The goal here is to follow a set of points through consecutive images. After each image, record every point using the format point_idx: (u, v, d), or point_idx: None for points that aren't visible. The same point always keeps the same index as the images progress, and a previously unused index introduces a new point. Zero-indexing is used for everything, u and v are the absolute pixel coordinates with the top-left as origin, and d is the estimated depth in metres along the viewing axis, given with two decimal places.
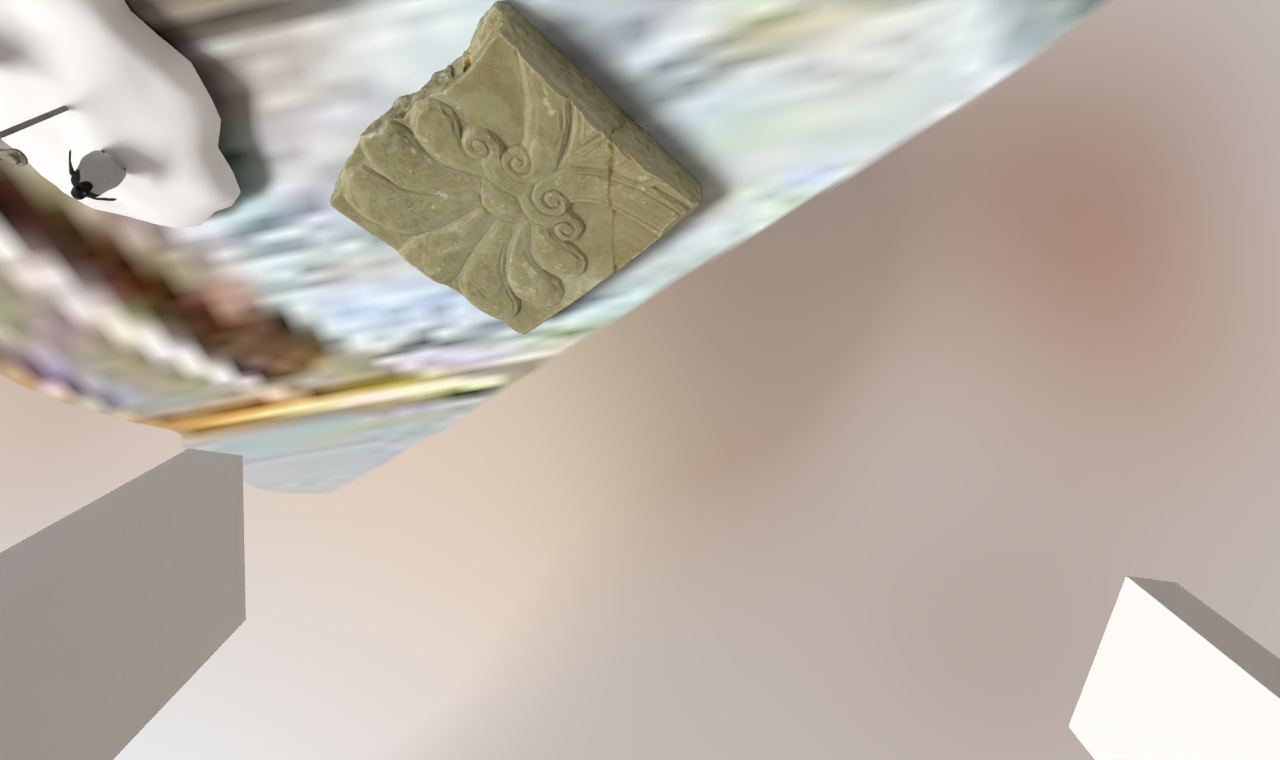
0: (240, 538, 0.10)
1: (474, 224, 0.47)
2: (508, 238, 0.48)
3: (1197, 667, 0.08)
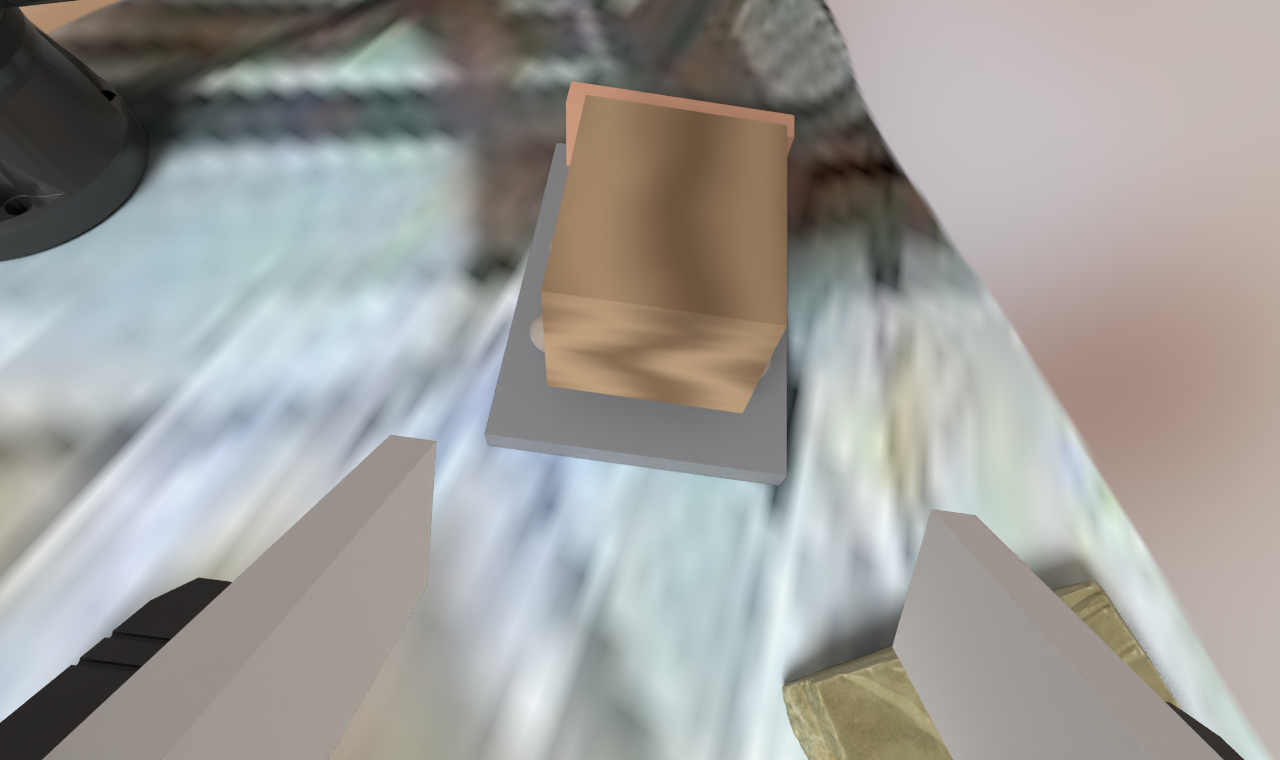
0: (429, 514, 0.11)
1: None
2: None
3: (966, 578, 0.10)
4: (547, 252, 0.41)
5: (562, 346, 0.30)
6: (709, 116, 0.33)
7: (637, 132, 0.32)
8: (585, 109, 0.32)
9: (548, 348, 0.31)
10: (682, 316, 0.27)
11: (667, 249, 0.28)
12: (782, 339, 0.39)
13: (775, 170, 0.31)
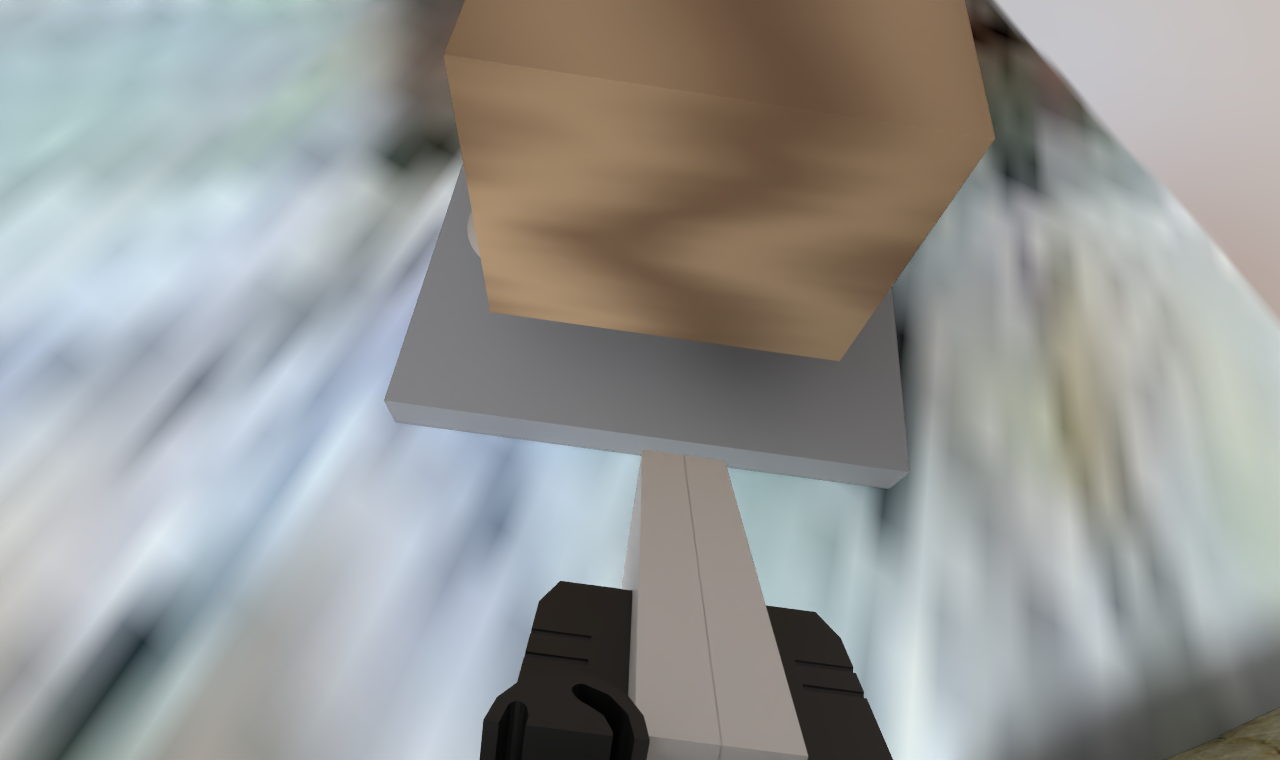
0: None
1: None
2: None
3: None
4: None
5: (508, 217, 0.15)
6: None
7: None
8: None
9: (481, 224, 0.16)
10: (760, 119, 0.12)
11: None
12: None
13: None
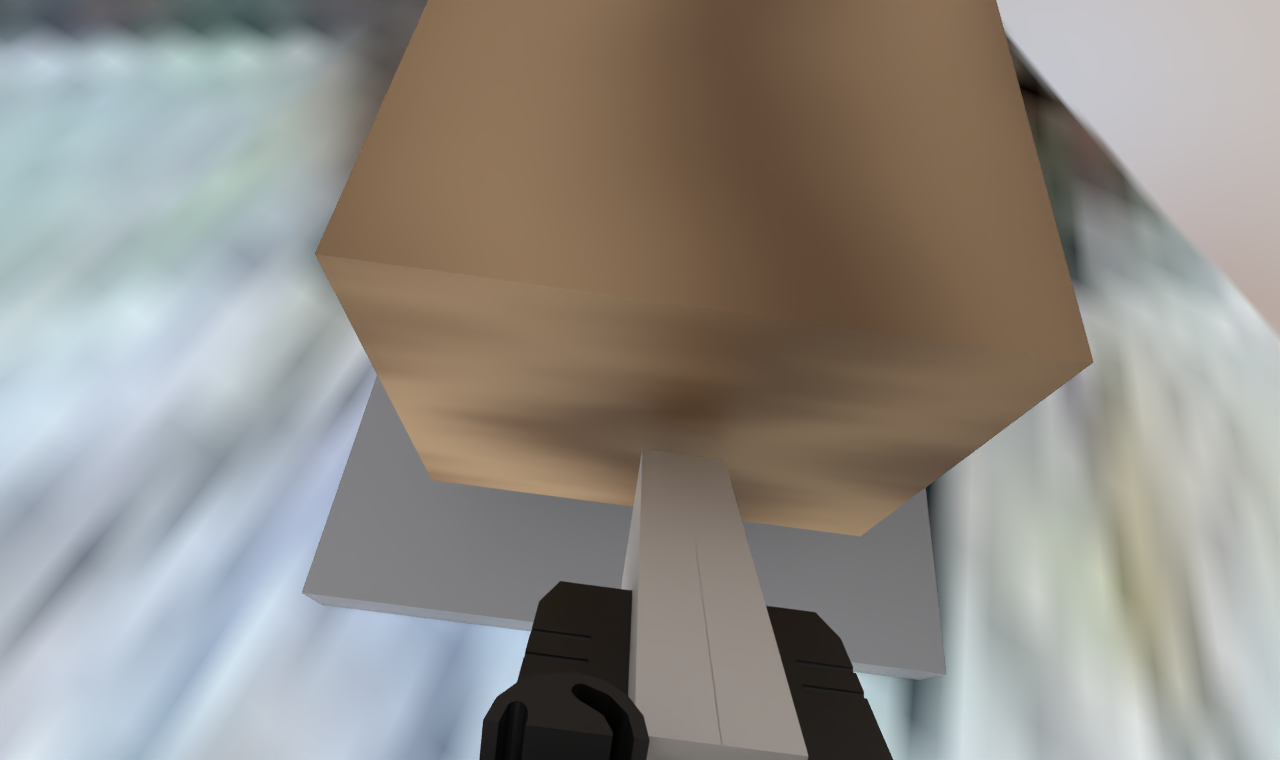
0: None
1: None
2: None
3: None
4: None
5: (437, 406, 0.12)
6: None
7: None
8: None
9: (405, 410, 0.12)
10: (763, 331, 0.09)
11: (710, 140, 0.10)
12: None
13: None
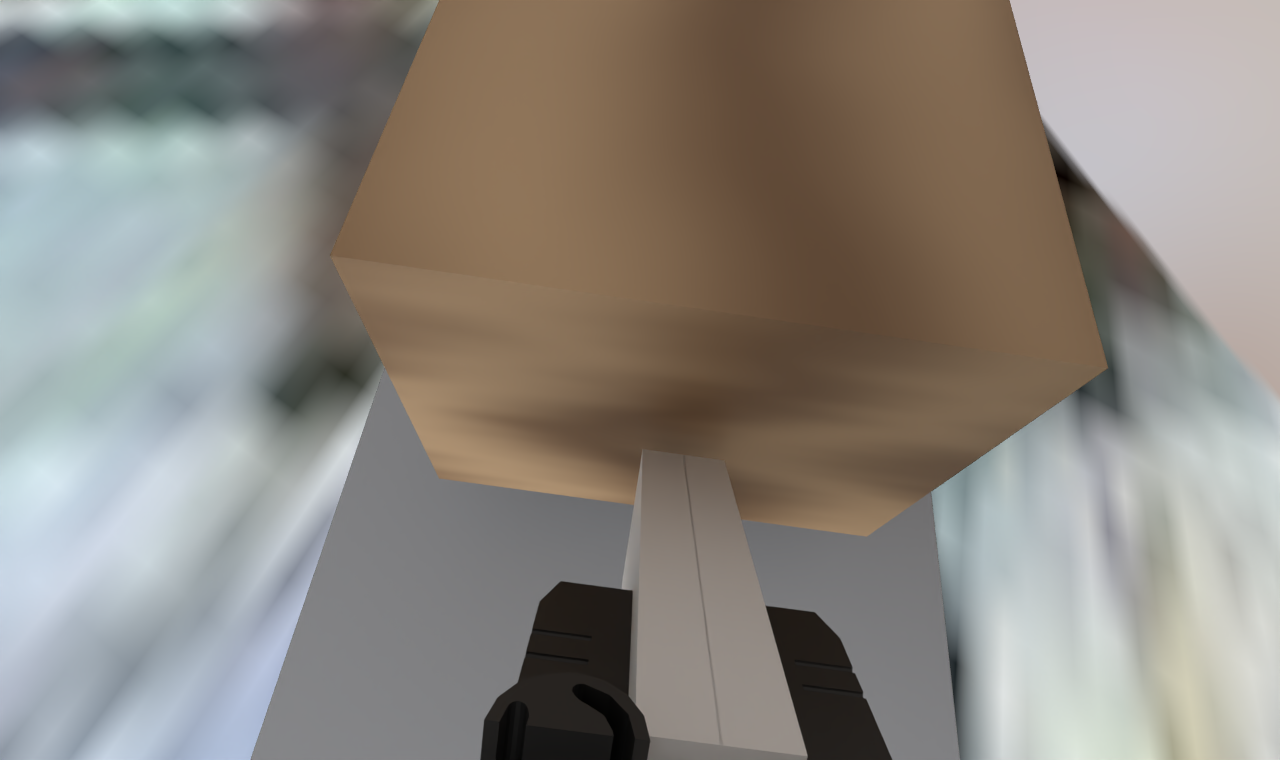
0: None
1: None
2: None
3: None
4: None
5: (447, 406, 0.12)
6: None
7: None
8: None
9: (414, 410, 0.12)
10: (778, 335, 0.09)
11: (725, 141, 0.10)
12: (928, 554, 0.18)
13: None
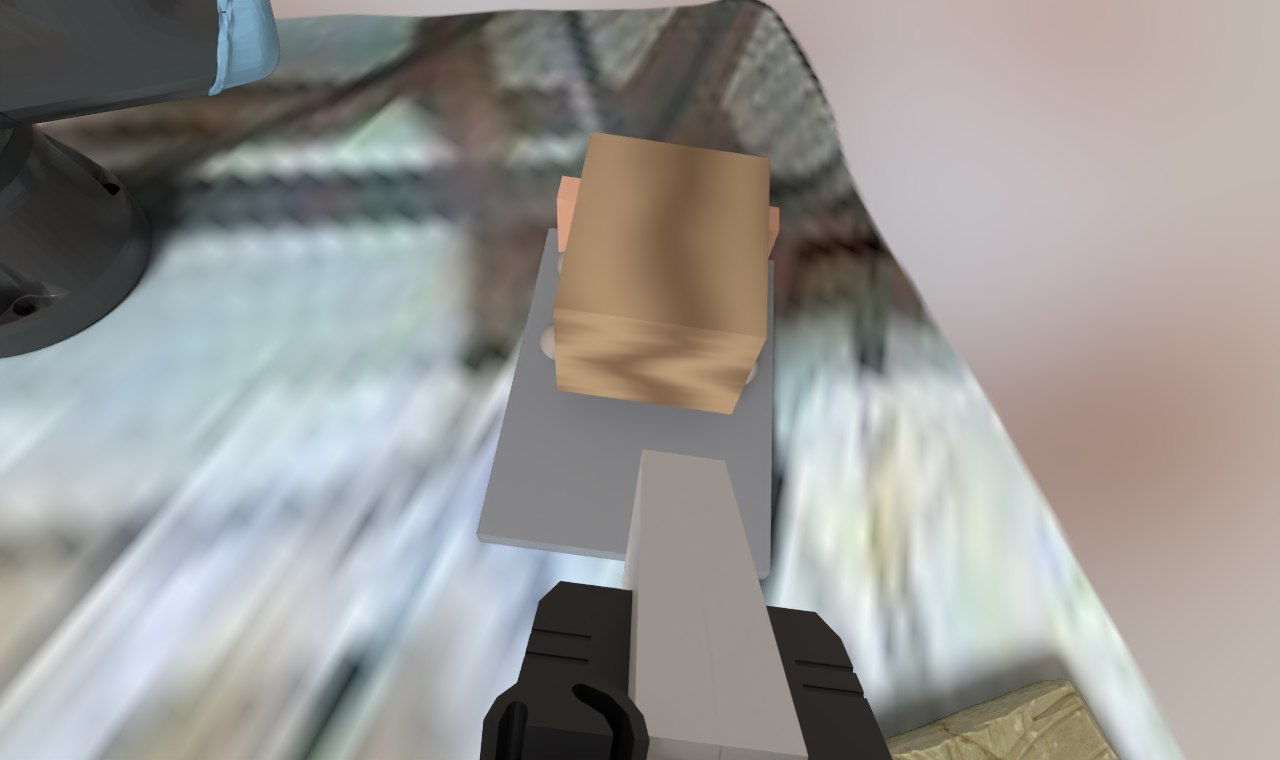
0: None
1: None
2: None
3: None
4: (539, 343, 0.42)
5: (570, 355, 0.34)
6: (701, 150, 0.37)
7: (636, 165, 0.36)
8: (590, 145, 0.36)
9: (558, 357, 0.35)
10: (675, 329, 0.31)
11: (663, 270, 0.32)
12: (767, 430, 0.41)
13: (758, 199, 0.35)
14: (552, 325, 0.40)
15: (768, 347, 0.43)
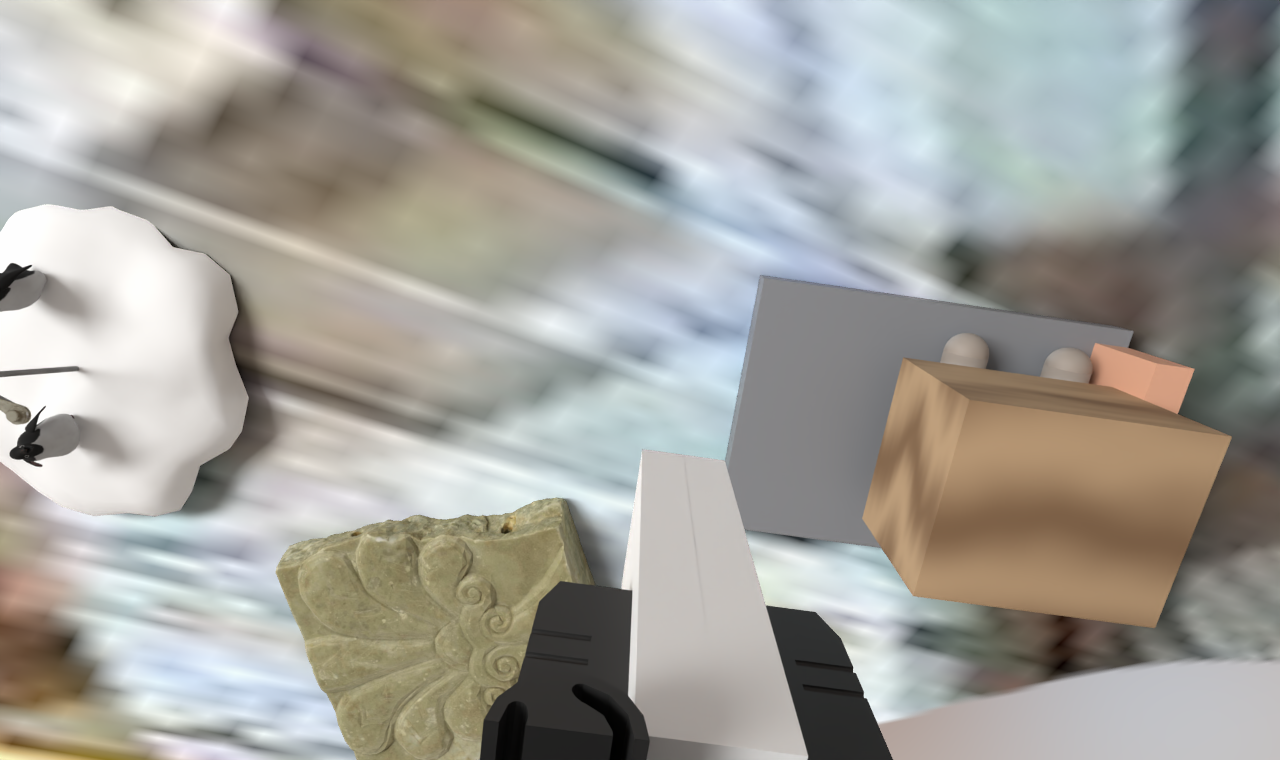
0: None
1: (411, 652, 0.44)
2: (434, 679, 0.45)
3: None
4: (970, 326, 0.39)
5: (928, 391, 0.34)
6: (1179, 557, 0.32)
7: (1164, 487, 0.31)
8: (1207, 436, 0.30)
9: (928, 377, 0.34)
10: (932, 513, 0.31)
11: (1006, 507, 0.31)
12: (849, 539, 0.43)
13: (1093, 609, 0.32)
14: (983, 349, 0.37)
15: None
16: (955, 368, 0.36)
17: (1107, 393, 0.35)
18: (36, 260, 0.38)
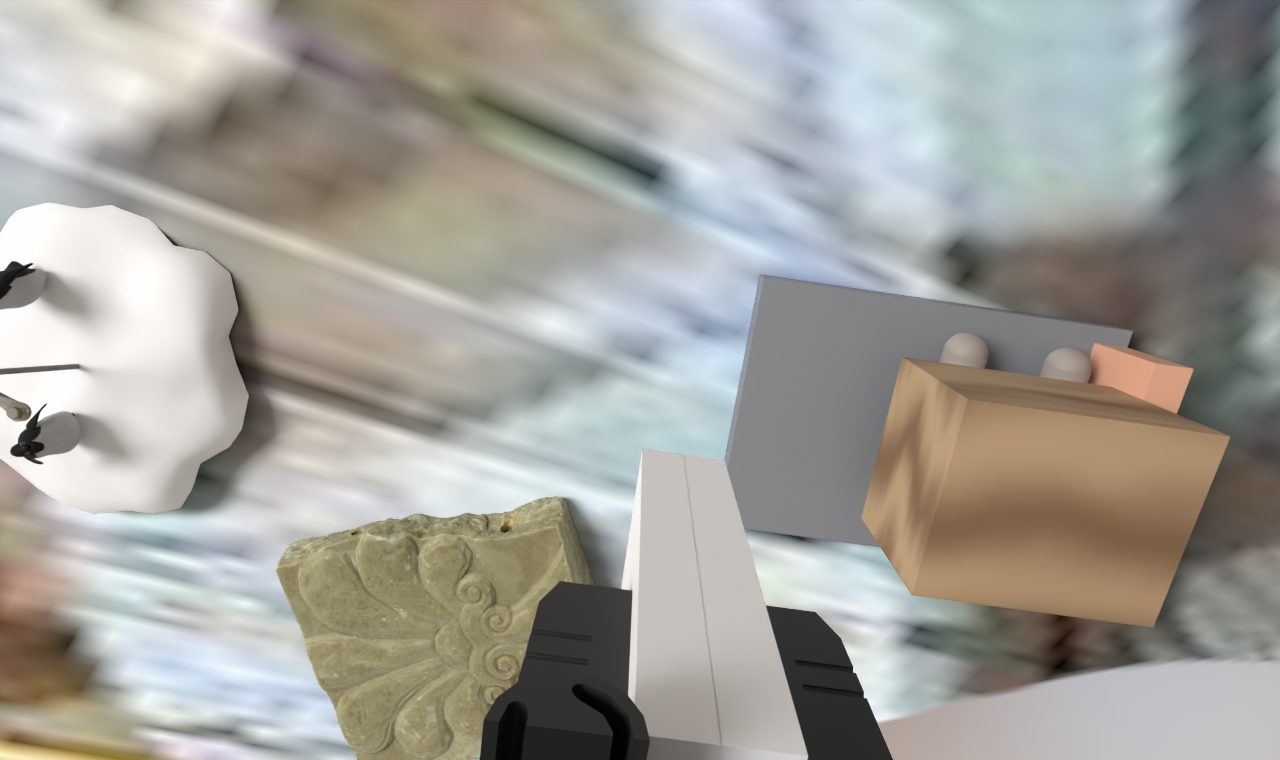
0: None
1: (411, 651, 0.44)
2: (434, 677, 0.45)
3: None
4: (969, 325, 0.39)
5: (927, 391, 0.34)
6: (1177, 557, 0.32)
7: (1162, 486, 0.31)
8: (1206, 436, 0.30)
9: (927, 377, 0.34)
10: (931, 513, 0.31)
11: (1004, 507, 0.31)
12: (848, 538, 0.43)
13: (1091, 608, 0.32)
14: (983, 349, 0.37)
15: None
16: (954, 368, 0.36)
17: (1106, 393, 0.36)
18: (37, 258, 0.38)
